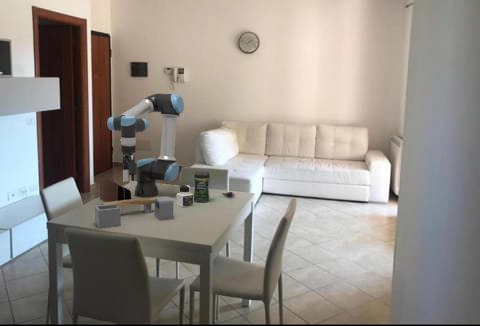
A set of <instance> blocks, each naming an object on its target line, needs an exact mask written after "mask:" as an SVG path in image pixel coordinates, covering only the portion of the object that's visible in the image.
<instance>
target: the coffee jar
mask: <svg viewBox="0 0 480 326" xmlns="http://www.w3.org/2000/svg"><path fill="white" fill-rule="evenodd" d="M210 178H211V177H210V173H209V171H204V170H203V171H199V170H198V171H195V172H194V175H193V179H194V191H193V202H196V203H208V202H209V201H210V190H209V188H210V187H209V186H210V185H209V183H210Z"/></svg>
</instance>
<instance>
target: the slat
mask: <svg viewBox="0 0 480 326" xmlns="http://www.w3.org/2000/svg"><path fill="white" fill-rule="evenodd" d="M110 204H116V207H117V208H124V207H134V206H143V205H145V204H151V205H152V204H154V205H155V197H141V198H136V199H135V198H134V199H132V198H131V200H122V201H113V202H105V201H103V202H102V205H110Z"/></svg>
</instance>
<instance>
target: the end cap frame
mask: <svg viewBox="0 0 480 326" xmlns="http://www.w3.org/2000/svg"><path fill="white" fill-rule="evenodd" d="M154 198H155V203H154V217H156V218H157V219H158V220H159V221H166V220H172V219H174V200H173V199H172V198H171V197H169V196H157V197H156V196H154ZM94 223H95V225H96V226H97V228H98V229H102V228H111V227H119V226H121V207H118V208H117V207H116V204H110V205H103V204H102V205H101V204H100V205H94Z"/></svg>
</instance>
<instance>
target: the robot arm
mask: <svg viewBox="0 0 480 326" xmlns="http://www.w3.org/2000/svg"><path fill="white" fill-rule="evenodd" d="M184 109H185V102H184V99H183V97H182V96H181V95H180V94H174V93H154V94H151V95H148V96H146V97H145V98H144V97H143V99H141V100H140V101H139V103H137V104H136V105H134V106H132V107H131V108H130V109H128V110H126V111H125V112H123V113H121V114H120V115H118V116H110V117H109V118H108V119H107V122H106V123H107V129H109V130H110V131H115V132H120V135H121V136H120V139H119V140H120V142H121V143H120V145H121V146H120V147H121V149H120V151H121V153H122V162H121V168H122V182H124V183H125V182H129V188H130V187H131V188H133V187H135V188H134V192H133V193H134V196H135V197H138V198H151V197H153V198H155V197H156V196H157V197H158V196H159V189H158V186H157V183H156V181H164V182H173V181H175V180H176V178H177V177H178V175H179V172H180V171H179V170H180V167H179V164H178V163H177V159H176V158H175V148H176V147H175V144H176V136H177V135H176V134H177V122H178V118H180V114H182V113H183V112H184ZM152 113H160V116H161V117H162V127H161V139H160V140H161V141H160V150H159V151H160V152H159V156H158V157H157V158H154V157H148V158H141V159H139V160H137V162H136V161H135V157H136V156H135V155H133V154H135V153H136V152H137V150H136V149H137V147H136V144H137V139H136V138H137V136H136V134H137V133H143V132H146V131H147V130H148V129H149V122H148V121H147V119H146V118H143V117H144V116H145V115H149V114H152Z"/></svg>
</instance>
